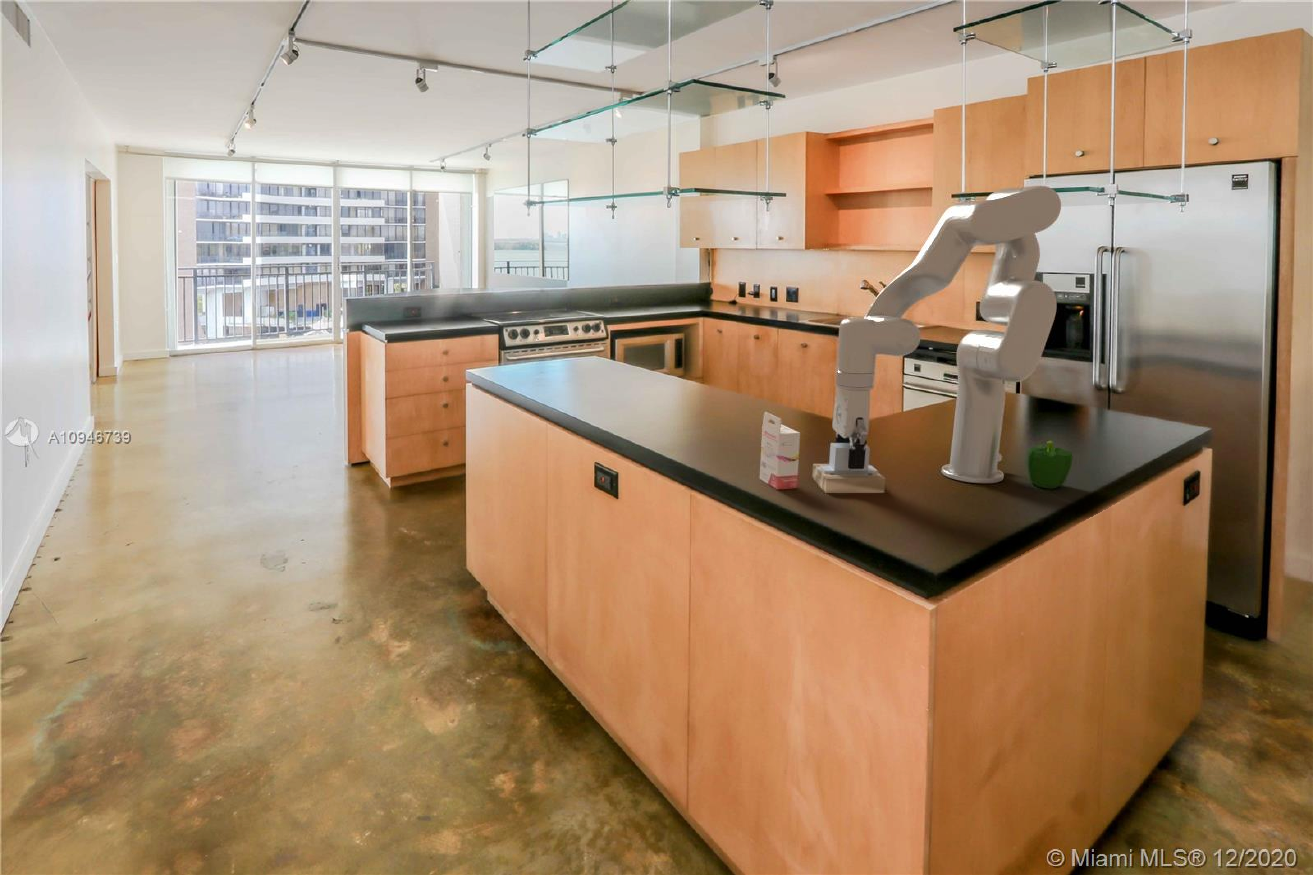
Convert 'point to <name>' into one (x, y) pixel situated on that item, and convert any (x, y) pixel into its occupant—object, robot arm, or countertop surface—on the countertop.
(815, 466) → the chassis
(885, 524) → the countertop surface
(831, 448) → the servo
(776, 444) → the ink cartridge box
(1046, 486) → the bell pepper
